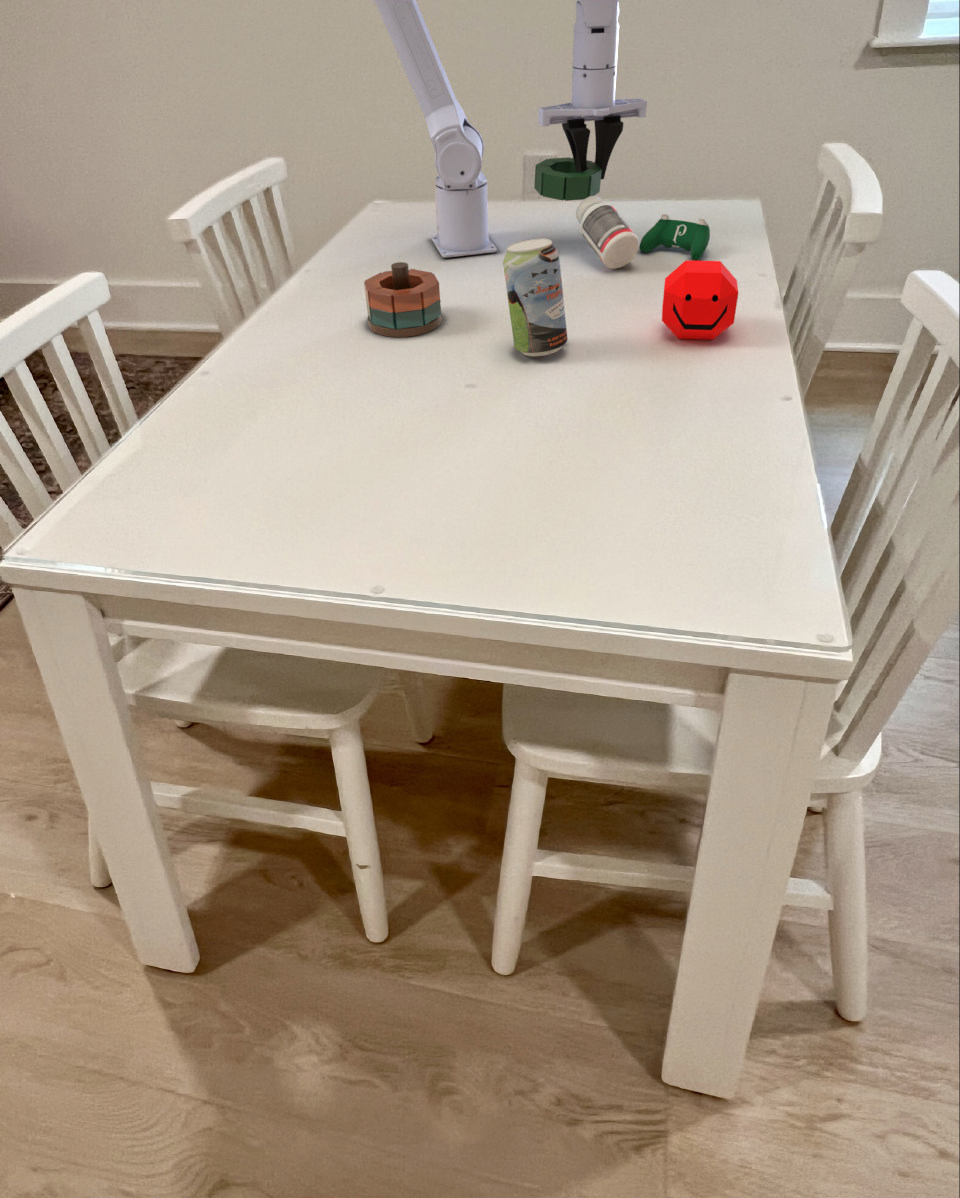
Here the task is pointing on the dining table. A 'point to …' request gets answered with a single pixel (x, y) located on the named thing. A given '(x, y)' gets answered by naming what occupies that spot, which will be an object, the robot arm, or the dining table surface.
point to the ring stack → (403, 302)
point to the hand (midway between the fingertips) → (590, 178)
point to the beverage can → (535, 297)
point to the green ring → (566, 179)
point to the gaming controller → (677, 236)
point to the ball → (699, 300)
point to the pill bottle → (606, 232)
